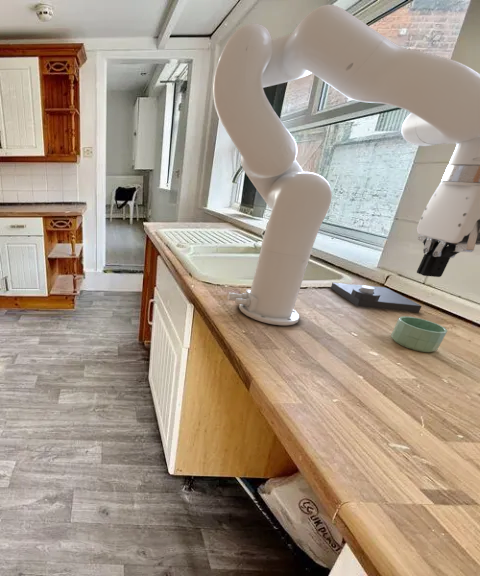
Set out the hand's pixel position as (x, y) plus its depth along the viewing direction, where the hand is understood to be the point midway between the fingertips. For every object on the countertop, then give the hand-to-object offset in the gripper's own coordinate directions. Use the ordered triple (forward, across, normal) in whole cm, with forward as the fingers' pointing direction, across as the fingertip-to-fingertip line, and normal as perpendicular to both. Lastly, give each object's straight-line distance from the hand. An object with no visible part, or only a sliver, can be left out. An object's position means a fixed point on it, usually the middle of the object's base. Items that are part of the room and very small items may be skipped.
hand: (428, 274), depth 61 cm
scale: (+13, +21, -6) cm, 26 cm away
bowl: (+13, -4, +1) cm, 14 cm away
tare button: (+10, +17, -2) cm, 20 cm away
